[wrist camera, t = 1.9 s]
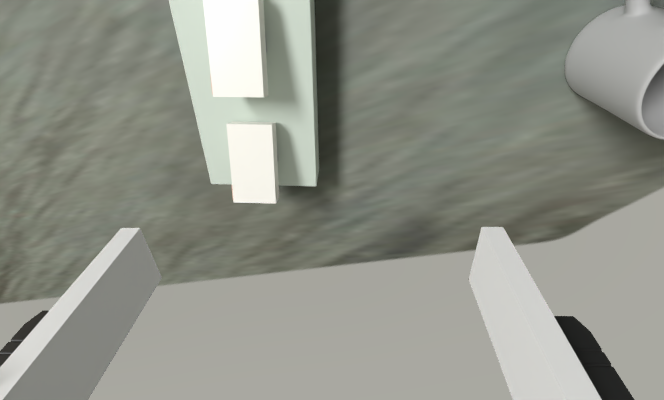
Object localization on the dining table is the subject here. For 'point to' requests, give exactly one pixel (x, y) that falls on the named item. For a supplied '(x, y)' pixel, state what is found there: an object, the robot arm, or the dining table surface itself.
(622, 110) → the mug
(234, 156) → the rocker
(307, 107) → the switch unit
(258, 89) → the rocker middle
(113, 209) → the dining table surface
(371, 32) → the dining table surface
